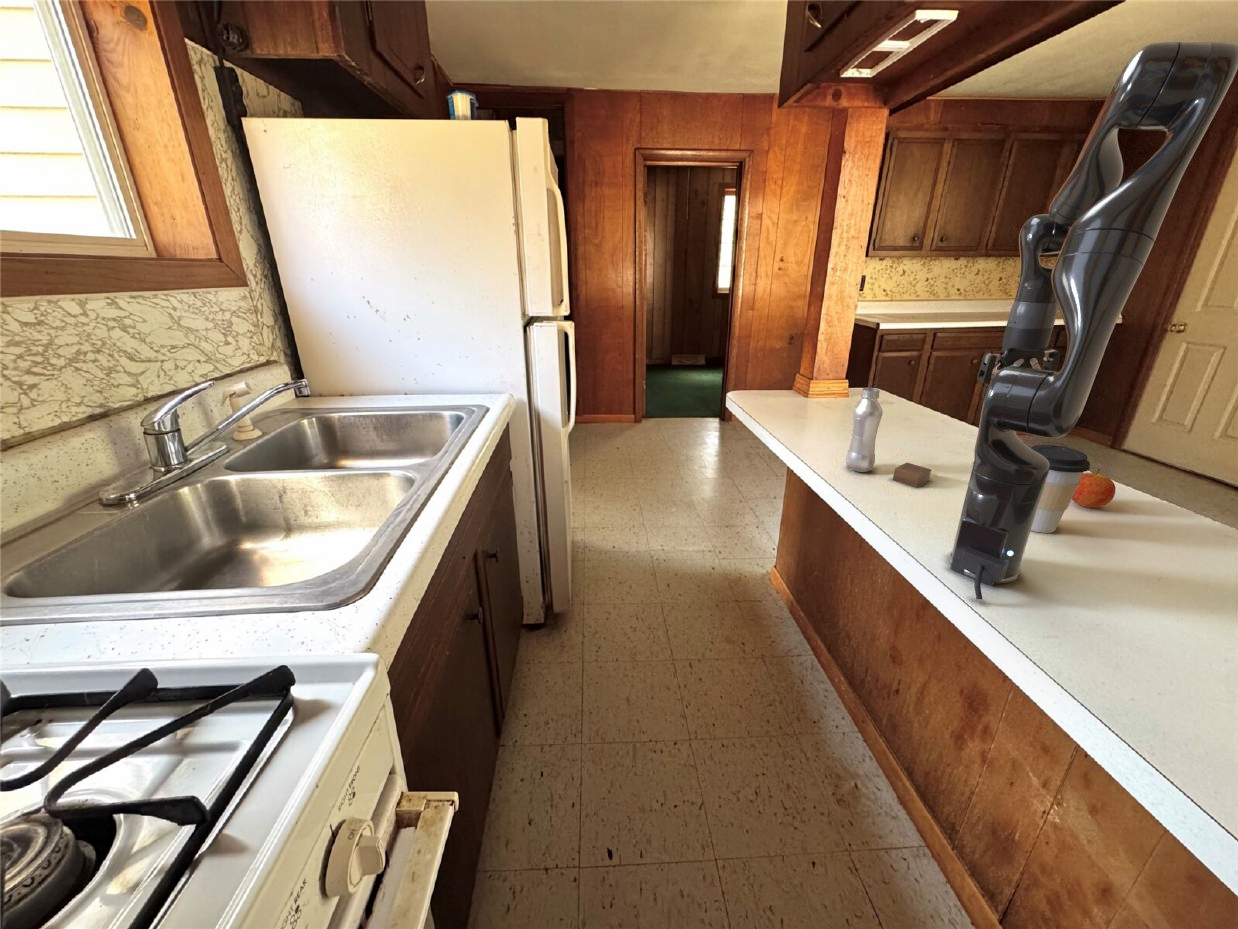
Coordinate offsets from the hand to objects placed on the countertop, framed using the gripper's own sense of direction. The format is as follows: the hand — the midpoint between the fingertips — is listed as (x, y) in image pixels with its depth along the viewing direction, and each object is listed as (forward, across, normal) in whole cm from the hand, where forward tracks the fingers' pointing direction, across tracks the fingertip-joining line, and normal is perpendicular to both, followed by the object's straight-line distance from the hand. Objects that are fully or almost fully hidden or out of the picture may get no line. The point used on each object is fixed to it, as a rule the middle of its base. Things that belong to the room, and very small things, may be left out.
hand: (1009, 400), depth 109 cm
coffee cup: (+17, -5, -22) cm, 29 cm away
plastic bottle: (+18, -27, +6) cm, 33 cm away
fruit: (+18, +10, -14) cm, 26 cm away
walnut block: (+18, -18, -1) cm, 25 cm away
